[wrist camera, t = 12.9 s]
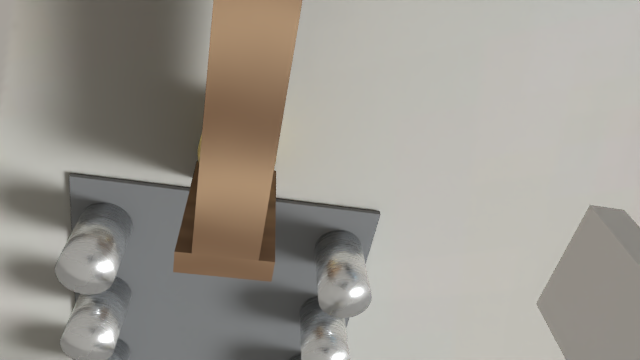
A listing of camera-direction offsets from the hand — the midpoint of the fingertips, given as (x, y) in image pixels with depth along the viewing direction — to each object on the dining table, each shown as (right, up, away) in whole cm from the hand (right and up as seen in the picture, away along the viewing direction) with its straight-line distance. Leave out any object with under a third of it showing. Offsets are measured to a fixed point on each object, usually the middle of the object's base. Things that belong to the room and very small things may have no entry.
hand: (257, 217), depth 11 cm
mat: (-5, -7, +26) cm, 28 cm away
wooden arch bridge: (-2, +7, +18) cm, 19 cm away
